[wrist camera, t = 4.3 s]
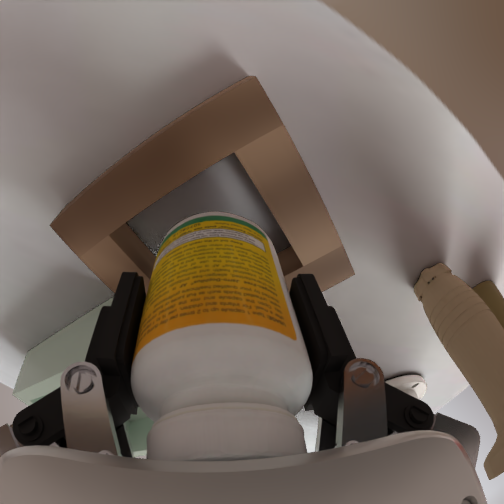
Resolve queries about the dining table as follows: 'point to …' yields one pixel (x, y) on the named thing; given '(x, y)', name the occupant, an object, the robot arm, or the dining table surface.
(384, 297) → the dining table surface
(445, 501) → the robot arm
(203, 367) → the supplement bottle
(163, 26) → the dining table surface
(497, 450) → the handle
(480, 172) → the dining table surface
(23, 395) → the bin
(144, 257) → the holder
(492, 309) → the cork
